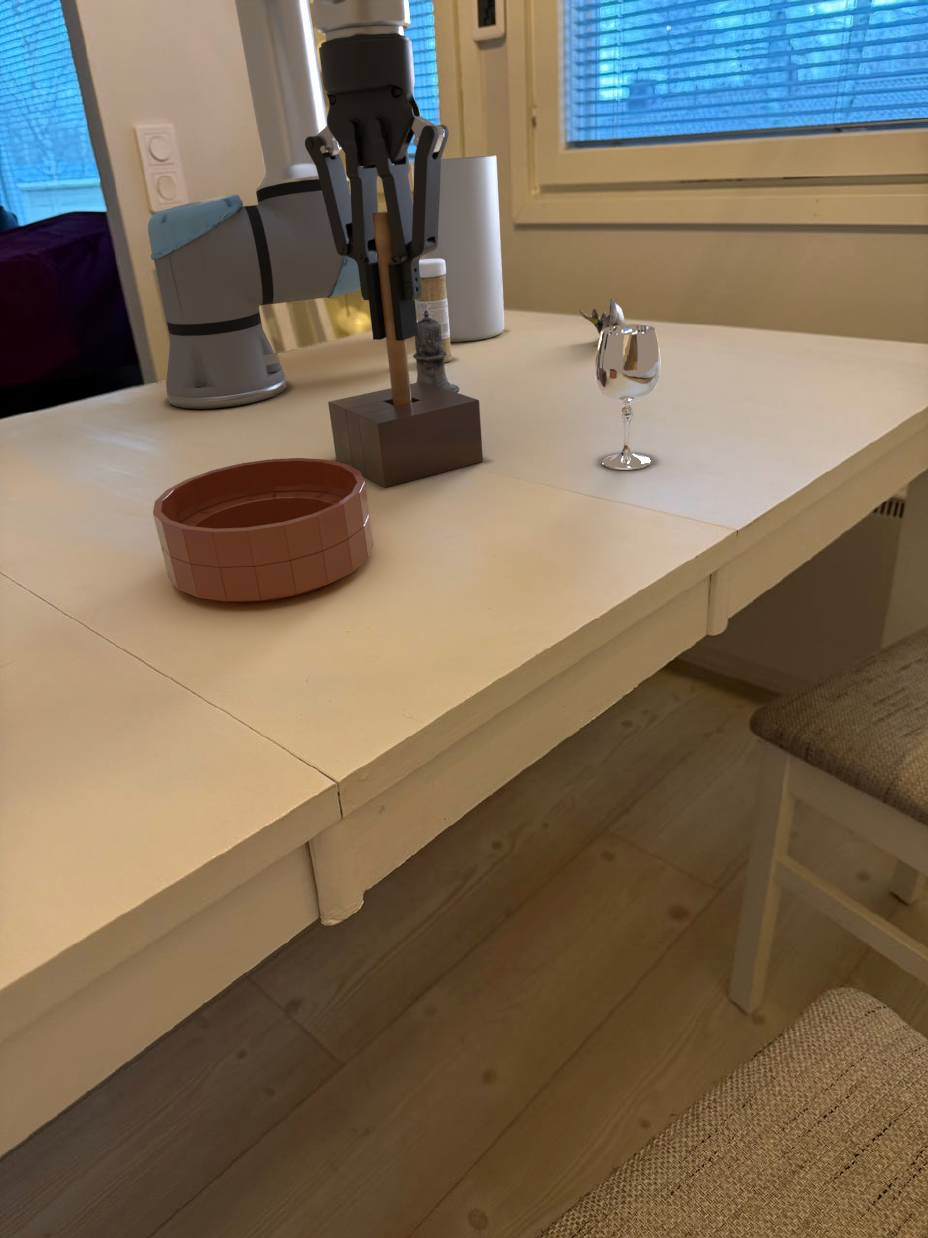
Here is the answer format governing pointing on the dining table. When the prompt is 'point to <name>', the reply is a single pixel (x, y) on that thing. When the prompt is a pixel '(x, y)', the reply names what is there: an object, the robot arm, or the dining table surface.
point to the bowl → (264, 529)
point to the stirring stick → (391, 313)
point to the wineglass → (627, 378)
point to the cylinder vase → (470, 247)
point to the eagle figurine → (610, 320)
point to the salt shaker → (431, 354)
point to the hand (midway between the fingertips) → (395, 336)
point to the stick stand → (406, 433)
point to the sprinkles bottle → (435, 298)
